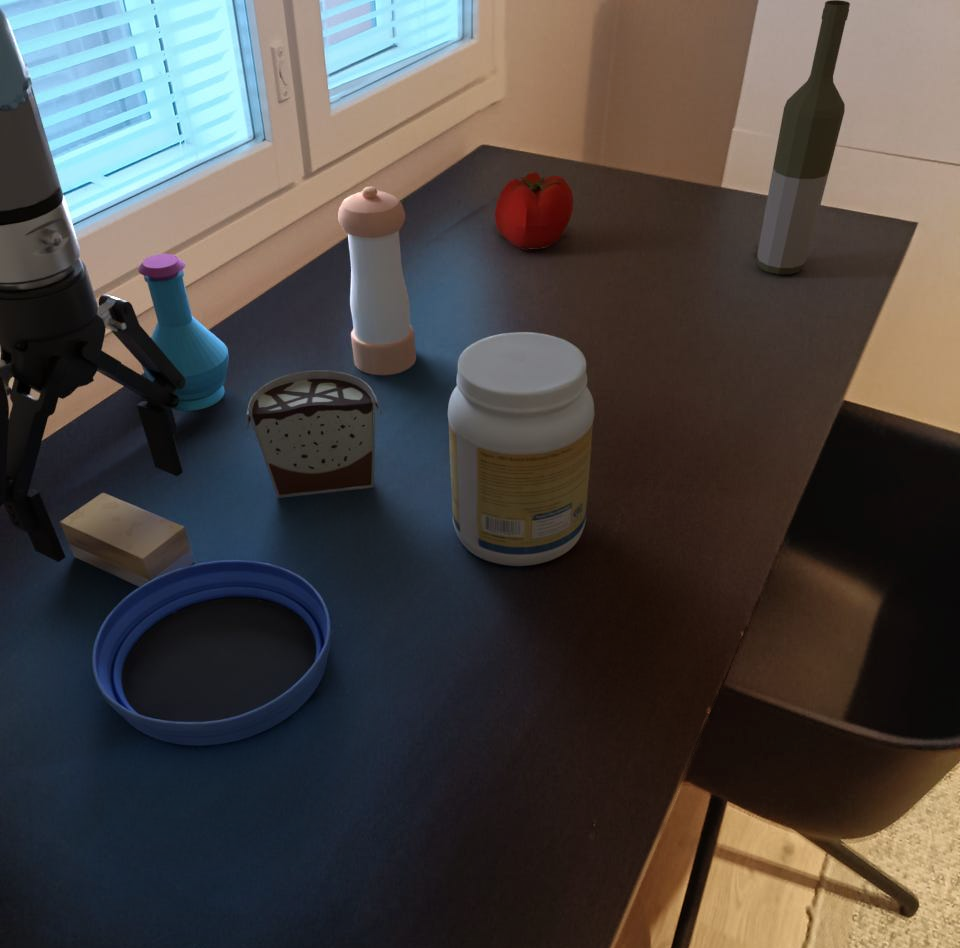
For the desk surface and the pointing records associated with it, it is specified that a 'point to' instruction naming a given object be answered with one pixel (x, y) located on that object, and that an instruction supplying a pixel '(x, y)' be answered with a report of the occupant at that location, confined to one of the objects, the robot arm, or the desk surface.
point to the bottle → (804, 154)
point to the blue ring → (213, 651)
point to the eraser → (126, 540)
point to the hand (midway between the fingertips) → (113, 510)
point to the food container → (316, 432)
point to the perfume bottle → (184, 335)
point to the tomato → (534, 210)
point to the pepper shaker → (377, 283)
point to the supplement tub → (520, 447)
